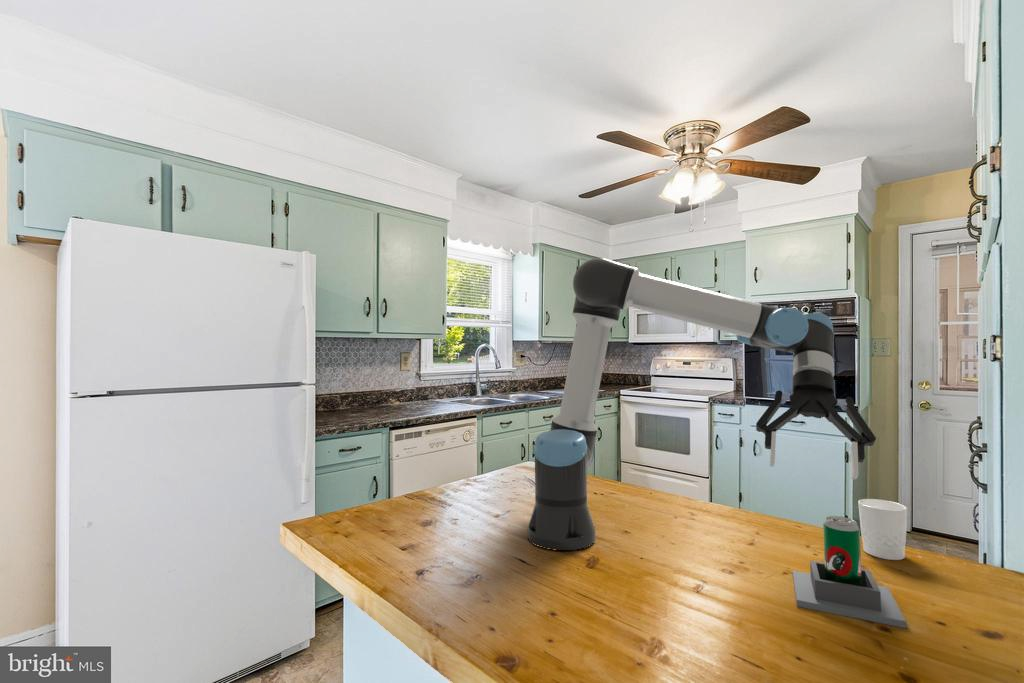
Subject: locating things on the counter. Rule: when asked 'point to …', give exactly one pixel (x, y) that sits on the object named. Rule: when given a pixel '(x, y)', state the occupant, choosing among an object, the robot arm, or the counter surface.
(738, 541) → the counter surface
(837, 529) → the soda can
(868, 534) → the white cup
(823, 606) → the mount
